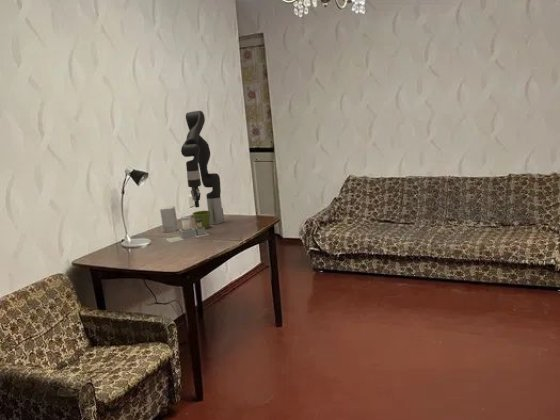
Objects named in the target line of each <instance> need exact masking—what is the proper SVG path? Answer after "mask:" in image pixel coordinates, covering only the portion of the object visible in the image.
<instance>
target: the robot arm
mask: <svg viewBox="0 0 560 420" xmlns="http://www.w3.org/2000/svg"><path fill="white" fill-rule="evenodd" d="M185 121H186V125H187V127H188V130H189V131H188V133H187V135H186V139H185V141H184V142H183V144H182V145H181V149H180V152H181V155H182V156H183V157H184V158H185V157H186V158H191V157H193V158H192V159H191V160H188V161H186V163H185V166H186V167H185V168H186V179H187V187H188V188H191V189H190V194H191V198H192V200H193V201H194V207H195V209H196V208H200V201H201V192H200V188H199V187H201V186H202V185H203V187H204V188H212V190H211V191H210V192H208V193H206V197H205V198H206V205H207V211H211V213H210V223H209V225H219V224H222V223H225V217H224V216H225V214H224V208H223V206H222V198H221V196H222V195H221V194H222V193H221V191H222V190H221V178H220V175H219V174H218V173H216V172H215V173H209V171H208V165H209V161H210V158H211V149H210V145H209V144H208V142H207V141H206V139H204V138H203V137H202V136H201V135H200V134H201V132H202V129H203V128H204V126H205V122H206V118H205V114H204V112H203V111H202V110H194V111H188V112H187V113H185Z"/></svg>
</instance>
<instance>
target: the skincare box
mask: <svg viewBox="0 0 560 420" xmlns="http://www.w3.org/2000/svg"><path fill="white" fill-rule="evenodd" d="M159 211H160V217H161V223H162V229H163V233H164V234H165V233H173V232H174V233H176V232H177V231H179V226H178V218H177V214H176V206H164V207H162V208H160V209H159Z"/></svg>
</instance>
